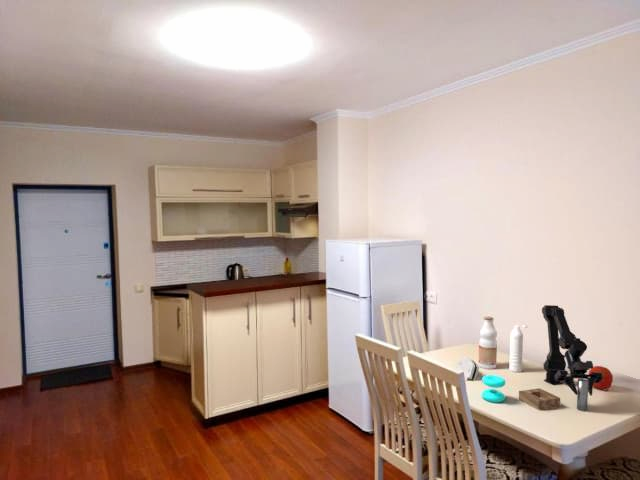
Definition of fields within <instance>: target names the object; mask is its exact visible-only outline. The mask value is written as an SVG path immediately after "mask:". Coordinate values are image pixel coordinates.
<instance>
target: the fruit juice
mask: <svg viewBox="0 0 640 480" xmlns="http://www.w3.org/2000/svg"><path fill="white" fill-rule="evenodd" d="M483 320H484V323H483V325H482V327H481V329H480V330H479V337H480V338H479V341H478V367H479V368H481V369H485V370H493V369H496V368H497V357H498V356H497V354H498V349H497V348H498V343H497V336H498V333H497V330H496V327H495V325H494V317H492V316H484V317H483Z"/></svg>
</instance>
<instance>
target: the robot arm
mask: <svg viewBox="0 0 640 480" xmlns="http://www.w3.org/2000/svg"><path fill="white" fill-rule="evenodd" d="M541 314H542V316H543V319H544V321H545V322H546V324H547V336H548V346H549V349H548V351H549V352H547V355H546V360H545V361H544V363H543V369H544V370H545V371H546V373H545V379H543V381H544V382H546V383H548V384H550V385H561V384H562V385H563V384H565V385H567V387H568V388H570V390H571V391H572V392H573V393H574V394H575V395H576V396H577V389H578V388H577V387H576V384H575V382H574V381H575V379H577V380H578V379H585V380H588V395H589V396H590V397H591V396H592V395H593V389H594V387H593V384H594V383H600V382H601V380H602V379H603V378H604V377H603V374H602V373H601V372H592V373H591V374H590V375H589V373H588V371H590V370H591V369H592V368H593V367H594V364H593V360H586V361H585V362H584V361H582V359H581V357H582V356H583V355H584V353H585V352H586V351H587V349H588V345H587V344H586V343H585V341H583V340H581V338H579V337H577V336H576V335H575V334H574V333H573V332H572V331H571V329H570V327H569V324H568V320H567V319H566V318H567V317H566V316H565V310H564V309H563V307H559V306H558V305H554V304H553V305H552V304H551V305H548V304H547V305H543V307H542V308H541ZM561 349H563V350H566V351H565V352H564V354H563V353H562V352H561ZM565 358H566V360H565ZM566 367H567V369H568V370H569V371H567V370H566ZM586 373H588V374H586Z"/></svg>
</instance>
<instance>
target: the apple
mask: <svg viewBox="0 0 640 480" xmlns="http://www.w3.org/2000/svg"><path fill="white" fill-rule="evenodd" d="M592 372H601V373H602V374H603V377H604V378H603V379H602V380H601V382H600V383H594V384H593V389H596V390H599V389H600V391H606V390H608V389H610V388H611V386H612V383H613V381H614V379H613V378H614V375H613V374H612V372H611V370H610V369H608V368H607V367H605V366H602V365H600V366H599V365H595V366H593V368H592V369H590V370H588V375H590V374H591V373H592ZM605 389H606V390H605Z"/></svg>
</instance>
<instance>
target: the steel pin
mask: <svg viewBox="0 0 640 480" xmlns="http://www.w3.org/2000/svg"><path fill="white" fill-rule="evenodd" d="M576 389H577V395H576V396H577V397H576V410H577V411H581V412H587V411H588V401H589V399H588V397H589V396H588V395H589V392H588V380H586V379H578V378H577V388H576Z"/></svg>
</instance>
